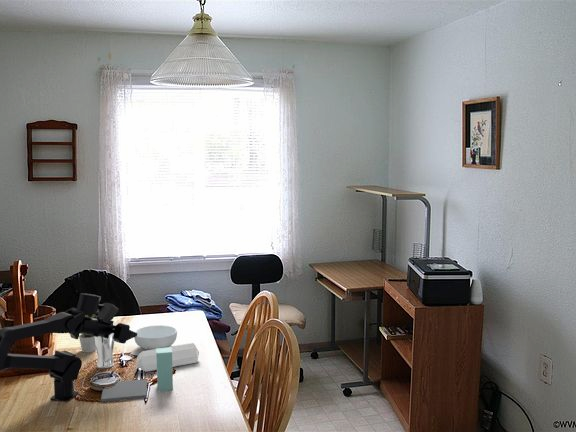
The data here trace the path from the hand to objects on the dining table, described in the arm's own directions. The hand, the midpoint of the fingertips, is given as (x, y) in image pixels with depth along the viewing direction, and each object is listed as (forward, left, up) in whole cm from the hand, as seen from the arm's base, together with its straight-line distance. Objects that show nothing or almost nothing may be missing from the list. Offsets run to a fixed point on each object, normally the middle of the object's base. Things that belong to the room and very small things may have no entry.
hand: (128, 332), depth 209 cm
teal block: (-10, -17, -16) cm, 25 cm away
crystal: (+11, -10, -16) cm, 22 cm away
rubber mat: (-15, -5, -16) cm, 22 cm away
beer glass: (+7, +13, -16) cm, 22 cm away
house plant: (+21, +28, -16) cm, 39 cm away
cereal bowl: (+29, +2, -16) cm, 33 cm away
